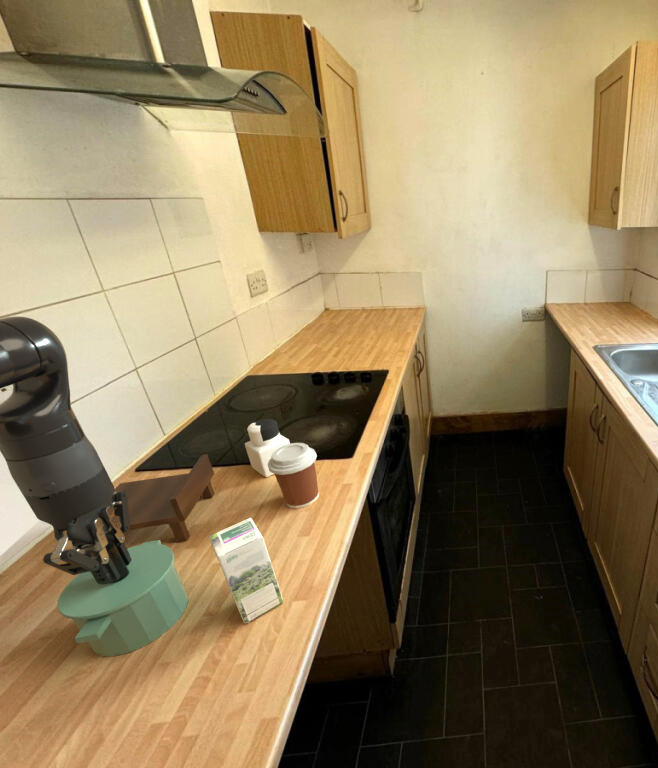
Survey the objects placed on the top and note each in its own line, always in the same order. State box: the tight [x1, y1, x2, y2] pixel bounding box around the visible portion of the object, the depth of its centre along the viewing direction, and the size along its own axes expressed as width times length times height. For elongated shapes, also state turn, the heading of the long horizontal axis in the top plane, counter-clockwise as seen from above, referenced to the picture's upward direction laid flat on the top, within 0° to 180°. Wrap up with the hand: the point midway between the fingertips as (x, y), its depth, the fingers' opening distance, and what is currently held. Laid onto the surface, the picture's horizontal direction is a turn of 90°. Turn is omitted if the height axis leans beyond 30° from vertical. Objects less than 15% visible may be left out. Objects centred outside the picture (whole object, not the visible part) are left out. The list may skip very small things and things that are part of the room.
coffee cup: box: [267, 442, 320, 509], centre depth 88 cm, size 9×9×12 cm
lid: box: [56, 542, 175, 620], centre depth 60 cm, size 13×13×7 cm
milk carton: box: [208, 517, 284, 625], centre depth 64 cm, size 6×6×14 cm
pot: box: [71, 539, 189, 657], centre depth 63 cm, size 12×17×8 cm
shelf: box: [90, 453, 215, 557], centre depth 82 cm, size 17×15×10 cm
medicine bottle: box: [244, 418, 291, 478], centre depth 99 cm, size 7×7×12 cm
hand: (116, 572), depth 60 cm, fingers closed on lid, 2 cm apart
